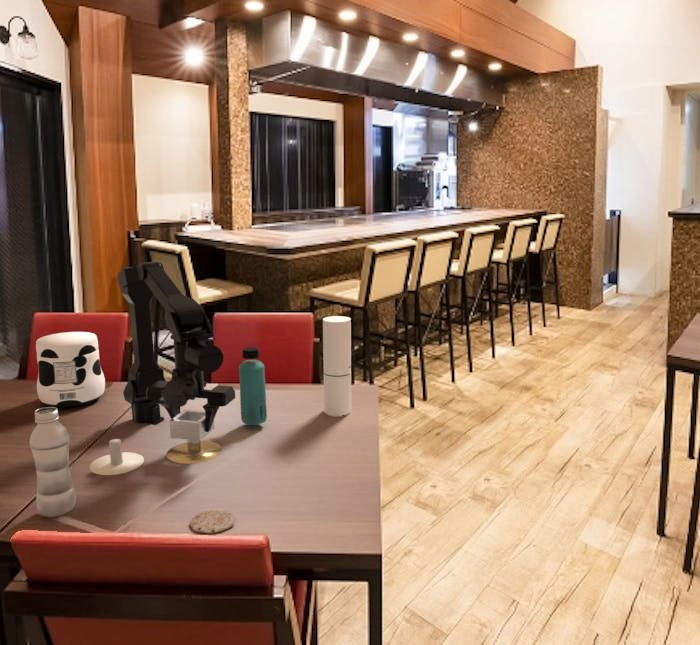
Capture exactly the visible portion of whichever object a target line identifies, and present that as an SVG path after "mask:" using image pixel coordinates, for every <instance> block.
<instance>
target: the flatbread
mask: <svg viewBox="0 0 700 645" xmlns="http://www.w3.org/2000/svg"><path fill="white" fill-rule="evenodd" d="M235 521H236V517H235V514H234V513H232V512H231V511H230V512H229V511H227V510H221V509H220V510H218V509H211V510H205V511H201V512H198V513H197V514H195V515H194V516H192V518H191V520H190V522H189V526H190V528H191V529H192V530H193V531H194V532H195V533H196V532H197V533H202V534H216V533H220V532H223V531H225V530H228V529H230V528H232V527H234V525H235Z"/></svg>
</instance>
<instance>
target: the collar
mask: <svg viewBox="0 0 700 645" xmlns="http://www.w3.org/2000/svg"><path fill="white" fill-rule="evenodd" d="M168 422H169V432H170V433H169V434H170V439H177V440H179V439H180V440H186V441H187V440H196V441H203V439H204V438H205V437H207V436H208V435H209V434H210V433H212V432H213V430H215V420H214V421H213V424H212V426H211V429H210V431H209V432H206V426H205V410H198V409H186V408H185V409H183V410H182V411H180V413H179V414H178V415H176V416H175V417H174V418H172V419H171V418H170V420H169V421H168Z"/></svg>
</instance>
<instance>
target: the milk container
mask: <svg viewBox="0 0 700 645" xmlns="http://www.w3.org/2000/svg"><path fill="white" fill-rule="evenodd" d="M98 340H99V339H98V336H97V334H95V333H92V332H88V331H68V332H67V331H66V332H58V333H52V334H48V335H44V336H42V337H39V338H38V339H37V340H36V342H35V351H36V361H37V369H38V372H37V373H38V374H37V381H36V392H37V395H38V396H37V397H38V398H39V401H41V403H42V404H44V405H47V406H48V407H55V408H57V407H58V408H69V407H77V406H82V405H86V404H89V403H91V402H94V401H96V400H98V399H99V398H101V397H102V396H103V394H104V392H105V389H106V379H105V375H104V372H103V370H102V367H101V363H100V350H99V341H98Z"/></svg>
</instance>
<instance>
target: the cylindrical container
mask: <svg viewBox="0 0 700 645" xmlns="http://www.w3.org/2000/svg"><path fill="white" fill-rule="evenodd" d="M351 320H352V318H351V317H349V316H345V315H344V316H341V315H332V316H326V317H323V318H322V348H323V349H322V353H323V357H322V358H323V361H322V363H323V412H325V413H326V414H325V413H324V414H325V415H327V414H328V415H327V416H330V415H331V416H330V417H343V416H342V415H345V416H347V415H346V414H348V413H350V412H351V413H352V322H351ZM351 413H350V414H351ZM348 415H349V414H348Z"/></svg>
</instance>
